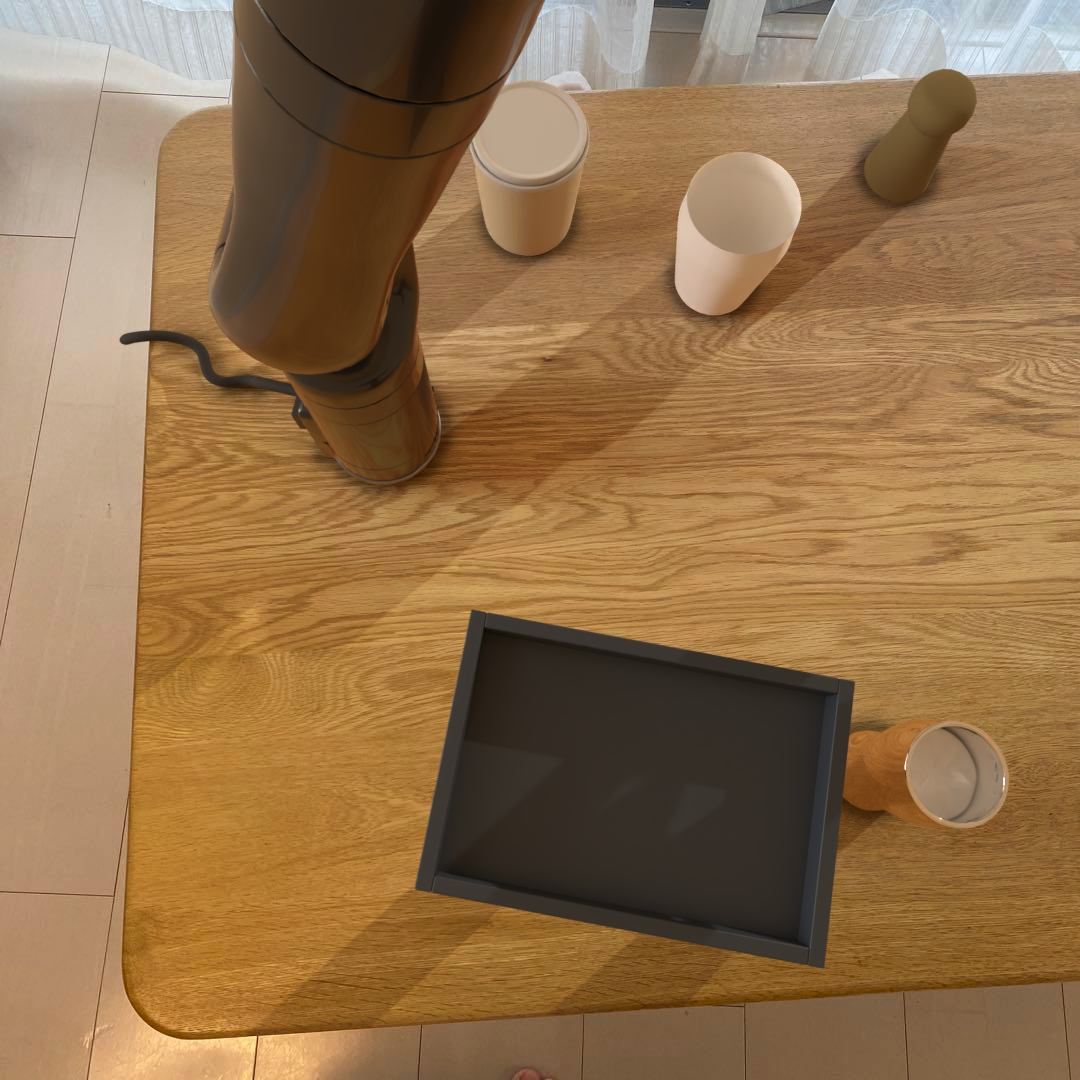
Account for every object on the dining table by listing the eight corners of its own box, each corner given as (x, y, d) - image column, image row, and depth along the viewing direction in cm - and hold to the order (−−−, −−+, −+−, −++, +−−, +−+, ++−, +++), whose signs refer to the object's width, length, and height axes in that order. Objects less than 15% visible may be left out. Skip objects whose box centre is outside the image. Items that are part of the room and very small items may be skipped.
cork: (926, 208, 84) (985, 128, 73) (859, 195, 84) (909, 113, 73) (933, 150, 85) (992, 63, 74) (867, 137, 85) (918, 49, 75)
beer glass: (888, 834, 72) (983, 854, 57) (809, 784, 72) (882, 792, 58) (928, 755, 73) (1031, 755, 58) (850, 707, 74) (932, 696, 59)
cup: (781, 267, 82) (825, 187, 71) (731, 347, 80) (767, 278, 69) (693, 217, 83) (722, 129, 71) (641, 295, 81) (662, 218, 70)
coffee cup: (527, 151, 84) (528, 54, 73) (602, 217, 83) (615, 129, 71) (453, 217, 83) (442, 128, 71) (528, 285, 81) (530, 206, 70)
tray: (453, 838, 71) (414, 889, 44) (488, 661, 74) (471, 608, 47) (708, 887, 70) (824, 969, 44) (732, 707, 74) (855, 681, 47)
